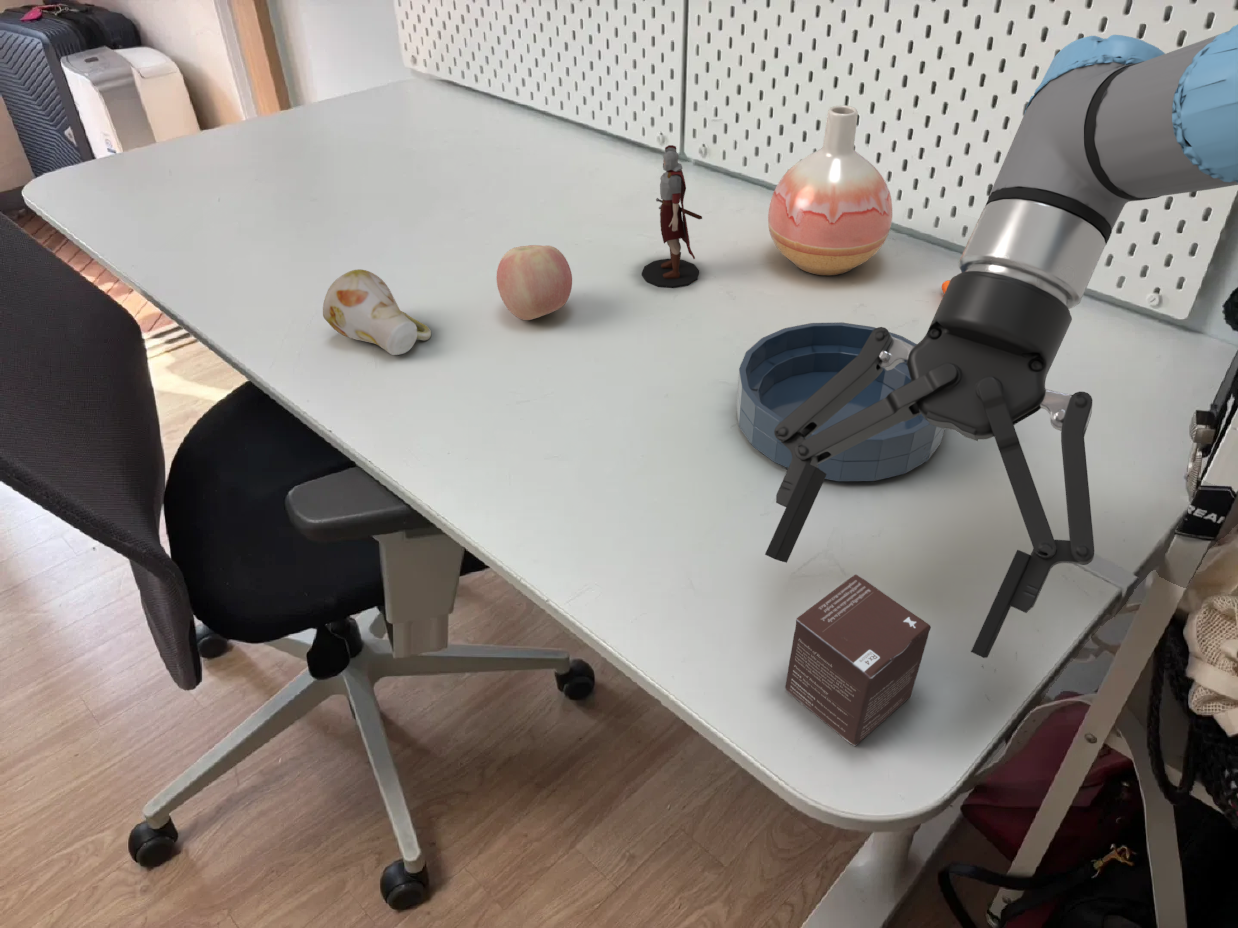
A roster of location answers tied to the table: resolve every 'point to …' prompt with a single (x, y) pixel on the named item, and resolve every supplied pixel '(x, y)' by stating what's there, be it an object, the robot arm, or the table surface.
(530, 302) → the apple
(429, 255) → the table surface
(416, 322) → the mug
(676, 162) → the figurine
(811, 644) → the box
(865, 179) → the vase
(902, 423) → the bowl
